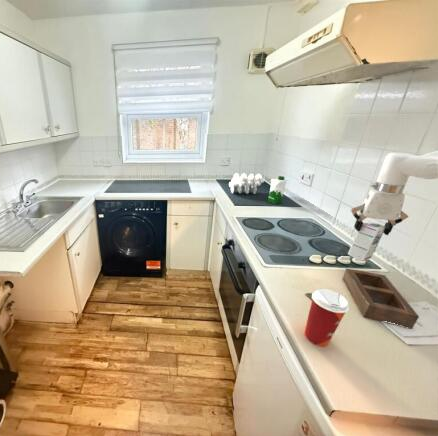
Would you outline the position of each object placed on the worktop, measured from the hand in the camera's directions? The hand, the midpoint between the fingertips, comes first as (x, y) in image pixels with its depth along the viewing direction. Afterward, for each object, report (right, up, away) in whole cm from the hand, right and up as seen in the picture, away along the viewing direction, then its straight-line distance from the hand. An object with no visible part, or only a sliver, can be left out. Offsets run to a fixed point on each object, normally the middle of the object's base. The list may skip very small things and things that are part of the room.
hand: (370, 231), depth 92 cm
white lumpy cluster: (-4, +27, +113) cm, 116 cm away
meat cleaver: (-28, -25, -10) cm, 39 cm away
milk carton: (+10, +17, +90) cm, 93 cm away
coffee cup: (-37, -30, -22) cm, 53 cm away
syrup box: (-1, -11, +5) cm, 12 cm away
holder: (-7, -24, -8) cm, 26 cm away
